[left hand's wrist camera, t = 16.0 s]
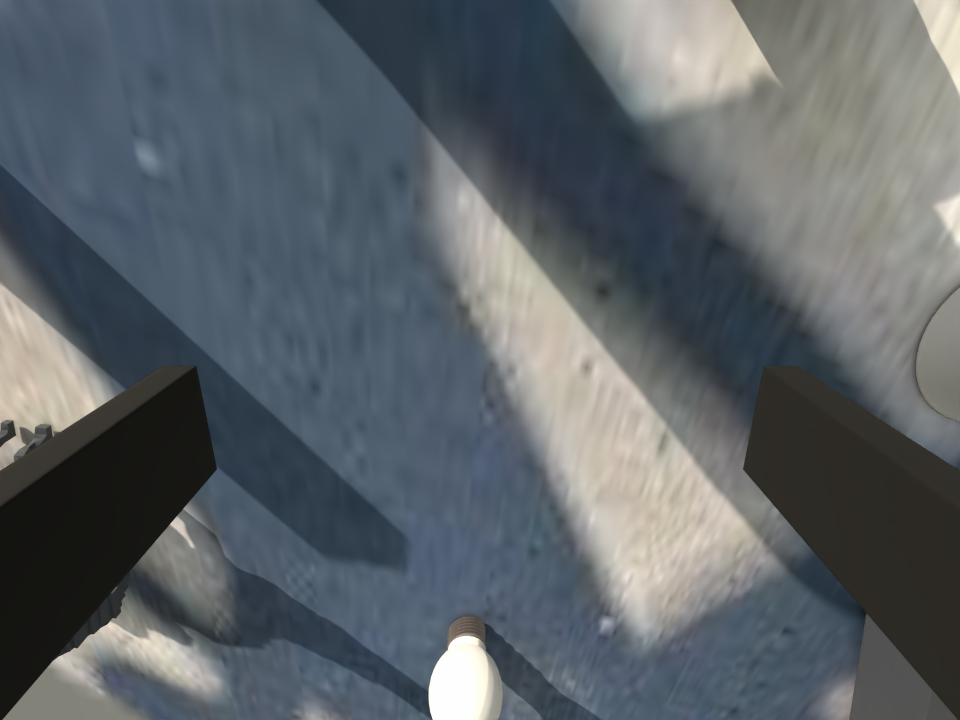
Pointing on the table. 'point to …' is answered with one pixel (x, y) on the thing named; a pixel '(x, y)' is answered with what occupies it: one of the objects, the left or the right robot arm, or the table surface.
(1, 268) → the table surface
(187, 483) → the left robot arm
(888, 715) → the bar
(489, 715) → the light bulb
